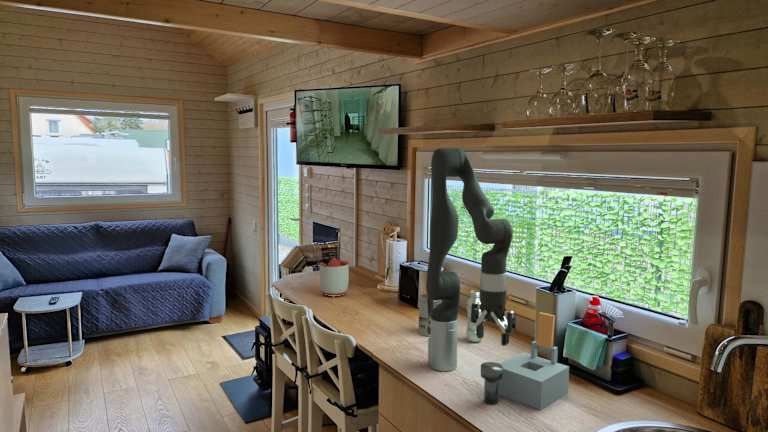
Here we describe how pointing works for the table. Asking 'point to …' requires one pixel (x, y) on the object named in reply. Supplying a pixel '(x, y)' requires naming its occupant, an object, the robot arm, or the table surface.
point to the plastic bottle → (471, 326)
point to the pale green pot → (334, 277)
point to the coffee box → (426, 313)
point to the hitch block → (534, 378)
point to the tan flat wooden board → (545, 332)
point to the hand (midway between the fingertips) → (492, 341)
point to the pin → (491, 381)
